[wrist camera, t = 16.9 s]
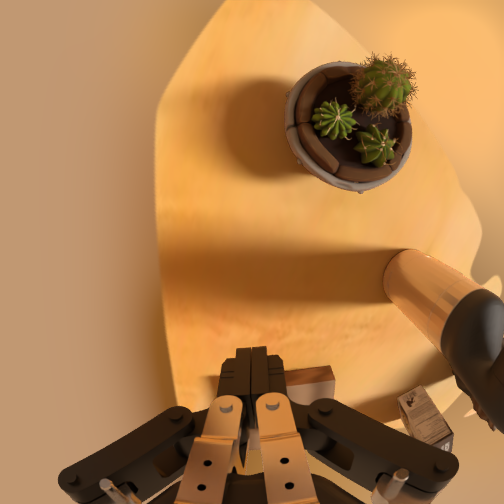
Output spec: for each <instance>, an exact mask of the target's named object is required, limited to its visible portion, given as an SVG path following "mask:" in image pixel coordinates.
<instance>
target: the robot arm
mask: <svg viewBox="0 0 504 504" xmlns="http://www.w3.org/2000/svg"><path fill="white" fill-rule="evenodd" d="M383 288H384V291H385V293H386V295H387V297H388V298H389V299H390V300H391V301H392V302H393V303H394V304H395V305H396V306H397V307H398V308H399V309H400V310H401V311H402V312H403V313H404V314H405V315H406V316H407V317H408V318H409V319H410V320H411V321H412V322H413V323H414V324H415V325H416V327H417V328H418V329H419V330H420V331H421V332H422V333H423V334H424V335H425V336H426V337H427V338H428V339H429V340H430V341H431V342H432V343H433V344H434V346H435V347H436V348H437V349H438V350H439V351H440V352H441V353H442V354H443V355H444V357H445V358H446V359H447V360H448V361H449V364H450V366H451V367H452V369H453V370H454V372H455V373H456V374H457V375H458V376H459V378H460V379H461V380H462V382H463V383H464V384H465V386H466V387H467V388H468V390H469V391H470V393H471V394H472V395H473V397H474V398H475V400H476V401H477V403H478V404H479V406H480V407H481V409H482V410H483V412H484V413H485V414H486V416H487V417H488V419H489V420H490V421H491V422H492V423H493V424H494V426H495V427H496V428H497V429H498V430H499V431H500V432H502V433H503V434H504V346H503V348H502V350H501V345H502V340H503V336H504V303H503V302H502V300H501V299H500V298H499V297H498V296H497V295H495V294H494V293H492V292H490V291H489V290H487V289H485V288H484V287H482V286H480V285H479V284H477V283H475V282H474V281H472V280H470V279H468V278H467V277H465V276H463V274H462V273H460V272H458V271H457V270H455V269H453V268H451V267H450V266H448V265H446V264H444V263H442V262H440V261H439V260H437V259H435V258H433V257H431V256H427V255H425V254H424V253H422V252H420V251H417V250H413V249H409V250H404V251H402V252H400V253H398V254H397V255H396V256H395V257H394V258H392V260H391V261H390V262H389V264H388V266H387V267H386V270H385V273H384V277H383ZM255 421H256V428H259V435H260V446H261V453H262V461H263V470H264V472H262V473H258V474H254V475H249V476H247V475H246V466H247V459H248V451H249V443H250V441H249V437H250V429H255ZM304 449H306V450H307V451H308V453H309V454H311V455H312V456H313V457H315V458H316V459H318V460H319V461H321V462H322V463H324V464H326V465H327V466H329V467H330V468H332V469H333V470H335V471H337V472H338V473H340V474H341V475H343V476H345V477H346V478H348V479H350V480H352V481H353V482H355V483H357V484H358V485H360V486H362V487H364V488H366V489H367V490H369V491H371V492H372V494H371V501H372V503H373V504H430V503H431V502H432V501H433V500H434V499H435V498H436V497H437V496H438V494H439V493H440V492H441V491H442V490H443V489H444V488H445V486H446V485H447V484H448V483H449V482H450V480H451V479H452V478H453V477H454V476H455V474H456V473H457V471H458V469H459V462H458V459H457V457H456V456H455V455H453V454H452V453H450V452H447V451H445V450H442V449H440V448H437V447H435V446H432V445H430V444H427V443H425V442H422V441H420V440H418V439H415V438H413V437H411V436H408V435H406V434H404V433H402V432H399V431H397V430H395V429H393V428H391V427H388V426H386V425H384V424H382V423H380V422H378V421H376V420H374V419H372V418H370V417H368V416H366V415H364V414H362V413H360V412H358V411H356V410H354V409H352V408H350V407H348V406H346V405H344V404H342V403H340V402H338V401H336V400H334V399H331V398H321V399H317V400H315V401H313V402H312V403H311V404H310V405H302V404H298V403H295V402H293V401H292V400H291V399H290V398H289V397H288V394H287V388H286V381H285V374H284V367H283V360H282V359H281V358H280V357H279V356H278V355H269V356H267V348H266V346H261V347H252V350H251V347H250V348H237V349H236V358H228V359H226V360H225V362H224V363H223V364H222V367H221V373H220V380H219V386H218V392H217V398H216V399H215V400H213V401H212V403H211V404H210V407H209V408H208V409H205V410H202V411H198V412H194V413H192V412H191V411H190V410H189V409H188V408H186V407H182V406H175V407H171V408H169V409H167V410H166V411H164V412H162V413H161V414H159V415H158V416H156V417H154V418H153V419H151V420H150V421H148V422H147V423H145V424H143V425H142V426H140V427H139V428H137V429H135V430H134V431H132V432H130V433H129V434H127V435H125V436H124V437H122V438H120V439H119V440H117V441H115V442H113V443H112V444H110V445H108V446H106V447H105V448H103V449H101V450H99V451H97V452H96V453H94V454H92V455H90V456H88V457H86V458H85V459H83V460H81V461H79V462H77V463H75V464H73V465H71V466H69V467H67V468H65V469H64V470H62V471H61V473H60V474H59V477H58V484H59V486H60V487H61V489H62V490H64V491H65V492H66V493H67V494H68V495H69V496H70V497H71V498H72V500H74V501H75V502H76V503H77V504H142V502H143V501H145V500H147V499H148V498H150V497H151V496H153V495H154V494H155V493H157V492H159V491H160V490H162V489H163V488H164V487H166V486H167V485H169V484H170V483H172V482H173V481H174V480H176V479H177V478H178V477H180V476H181V475H183V477H182V480H181V481H179V482H177V483H175V484H173V485H172V486H170V487H169V488H168V489H166V490H165V491H164V492H162V493H161V494H160V495H158V496H157V497H156V498H154V499H153V500H151V501H150V502H149V503H147V504H365V503H364V502H362V501H360V500H359V499H357V498H356V497H354V496H353V495H351V494H349V493H348V492H346V491H345V490H343V489H342V488H340V487H339V486H337V485H336V484H335V483H333V482H332V481H330V480H328V479H326V478H324V477H322V476H319V475H315V474H311V473H310V469H309V466H308V462H307V459H306V454H305V451H304Z"/></svg>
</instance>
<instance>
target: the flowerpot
mask: <svg viewBox="0 0 504 504" xmlns="http://www.w3.org/2000/svg"><path fill="white" fill-rule="evenodd" d="M389 57H390V59H386V58H385V57H384V58H385V59H386V60H387V61H385V62H384V58H383V61H380V60H379V59H378V60H377V59H376V57H375V55H374V57H373V58H375V59H373V60H374V61H370V60H369V59H372V56H371V58H369V59H368V58H367V57H366V58H367V59H368V60H369V62H370V64H369V65H367V64H366V62H365V64H364V65H363V66H362V65H361V63H360V65H359V64H357V63H356V64H355V63H351V62H341V61H338V62H331V63H327V64H324V65H321V66H319V67H317V68H315V69H313V70H311V71H310V72H308V73H307V74H305V75H304V76H303V77H302V78H301V79H300V80H299V81H298V82H297V83H296V84H295V85H294V87H293V88H292V90H291V92H287V93H286V97H287V98H288V99H287V102H286V105H285V133H286V137H287V140H288V143H289V145H290V148H291V150H292V152H293V153H294V155H295V156H296V157H297V163H298V164H302V165H303V166H304V167H305V168H306V169H307V170H308V171H309V172H311V173H312V174H313V175H314V176H316V177H317V178H319V179H320V180H322V181H324V182H325V183H328V184H330V185H332V186H335V187H337V188H341V189H344V190H348V191H357V192H358V193H359V194H362V193H363V191H366V190H370V189H372V188H375V187H377V186H379V185H381V184H383V183H385V182H387V181H388V180H390V179H391V178H392V177H394V176H395V175H396V174H397V173H398V172H399V171H400V169H401V168H402V167H403V166H404V164H405V163H406V161H407V159H408V157H409V154H410V151H411V145H412V126H411V120H410V116H409V112H408V109H407V107H408V106H407V105H406V102H407V101H410V100H409V98H408V99H407V100H406V98H407V96H408V95H409V94H410V93H411V92H414V91H415V89H413V88H412V87H411V84H410V82H409V79H410V78H411V77H412V76H413V75H412V74H411V73H416V72H411V71H410V70H409V69H408V70H409V72H408V71H406V70H407V69H405V70H404V68H405V67H406V65H405V64H404V63H405V61H404V63H403V65H401V64H402V63H401V64H400V65H401V66H400V65H399V61H398V60H397V61H398V64H396V63H394V62H393V61H392V60H394V59H397V58H393V59H392V56H389ZM368 60H367V61H368ZM395 62H396V61H395ZM362 63H363V62H362ZM365 65H367V67H366V66H365ZM370 65H371V66H370ZM404 65H405V67H404V68H403V69H402V67H403V66H404ZM368 66H369V67H368ZM411 79H412V78H411ZM415 88H416V87H415ZM410 90H413V91H411V92H410ZM411 94H412V93H411ZM411 94H410V96H411ZM413 95H415V94H413ZM411 98H412V96H411ZM416 98H417V97H416ZM404 102H405V103H404ZM407 103H408V102H407ZM408 104H409V105H411V104H410V103H408ZM410 107H411V106H410ZM356 182H357V183H356Z"/></svg>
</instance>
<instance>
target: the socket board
mask: <svg viewBox="0 0 504 504" xmlns="http://www.w3.org/2000/svg"><path fill="white" fill-rule="evenodd" d="M284 374H285V381H286V388H287V394H288V397H289V398H290V399H291V400H292V401H293V402H295V403H298V404H302V405H310V404H311V403H312V402H313V401H315V400H317V399H321V398H331V399H334V390H335V377H334V375H333V372H332V369H331V366H324V367H317V368H310V369H302V370H294V371H285V372H284ZM249 441H250V443H249V450H261V446H260V435H259V428H256V421H255V429H250V437H249Z"/></svg>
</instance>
